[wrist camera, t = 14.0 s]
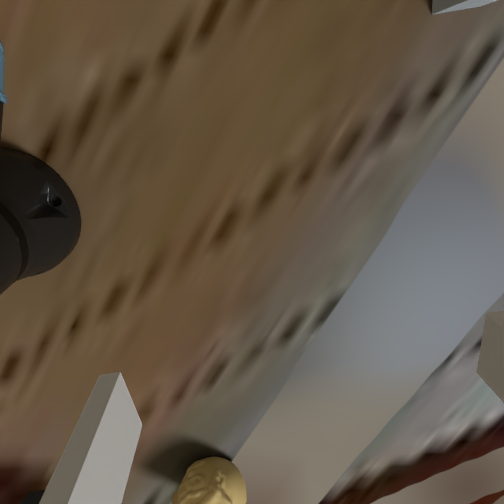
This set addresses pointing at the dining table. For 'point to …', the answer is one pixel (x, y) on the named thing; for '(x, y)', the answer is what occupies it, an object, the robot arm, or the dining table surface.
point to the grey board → (456, 5)
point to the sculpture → (211, 483)
